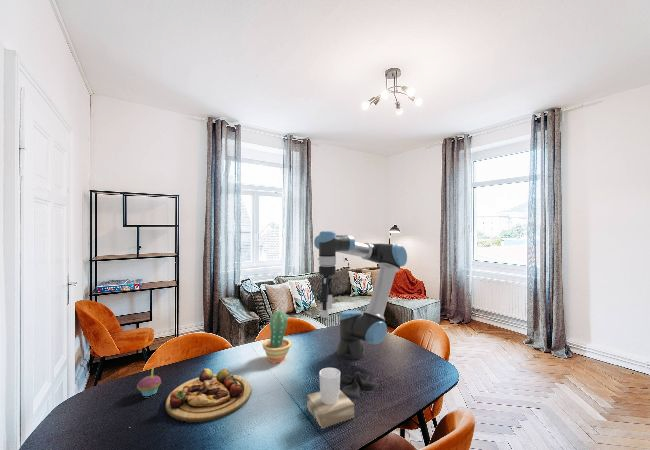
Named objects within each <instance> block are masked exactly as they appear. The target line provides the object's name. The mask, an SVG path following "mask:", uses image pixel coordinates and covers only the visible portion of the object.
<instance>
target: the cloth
mask: <svg viewBox="0 0 650 450" xmlns="http://www.w3.org/2000/svg"><path fill="white" fill-rule="evenodd" d="M370 380H371V376H370V375H369V374H367V373H361V372H360V371H355V372H354V374H353V376H352V375H350V374H343V375H342V376H340V384H341V383H342V384H345V385H346V384H347V385H346V386H344V387H343V388H342V390H341V391H342V392H343V393H344V394H345V395H346V396H347V397H349V396H350V397H351V398H354V397H355V398H354V399H360V398H362V396H361V391H362V390H363V391H364V393H365V394H366V395H371V394H374V393H375V391H373V390H375V389H377V388H378V387H379V386H380V384H379V383H378V382H374V381H370Z"/></svg>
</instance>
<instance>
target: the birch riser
mask: <svg viewBox="0 0 650 450" xmlns="http://www.w3.org/2000/svg"><path fill="white" fill-rule="evenodd" d="M307 408H308V409H307ZM306 409H307V410H308V411H309V412H311V413H312V414H311V413H310V414H311V415H313V416H314V417H313V418H314V420H315V419H316V420H315V421H316V423H317V422H318V423H317V424H318V425H319V427H320V426H321V427H320V428H321V429H322V430H323V428H324V429H326V428H325V427H327V426H330V425H333V424H335V425H337V424H336V423H338V424H340V423H339V422H341V423H343V422H342V421H344V422H346V421H345V420H347V421H349V420H348V419H350V420H352V419H351V418H353V419H354V418H355V403H354V402H353V401H352V400H351V399H350V398H349V396H346V395H345V394H344V393H343V392H342V390H341V389H340V392H339V401H338V402H337V403H336V404H333V405H327V404H324V403H323V402H322V401H321V393H320V390H319V391H316V392H311V393H309V394H307V395H306ZM333 426H334V425H333ZM330 427H331V426H330ZM327 428H328V427H327Z"/></svg>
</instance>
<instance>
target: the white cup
mask: <svg viewBox="0 0 650 450" xmlns="http://www.w3.org/2000/svg"><path fill="white" fill-rule="evenodd" d="M318 375H319V391H320V393H321V401H322V402H323V403H324V404H327V405H333V404H336V403H337V402H338V401H339V392H340V390H341V389H340V388H341V387H340V386H341V383H340V378H341V371H340V369H338V368H335V367H325V368H321V370H319V373H318Z"/></svg>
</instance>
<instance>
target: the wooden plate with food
mask: <svg viewBox="0 0 650 450" xmlns="http://www.w3.org/2000/svg"><path fill="white" fill-rule="evenodd" d="M251 395H252V388H251V385H250V382H248V380H247V379H246V378H243V377H242V376H240V375H237V374H232V373H231V372H230V371H229V369H226V368H222V369H220V370H219V371H218V372H217V373H214V374H213V371H212V370H211V369H210V368H207V367H206V368H204V369H202V370H201V372H200V373H199V375H198V377H195V378H192V379H190V380H187V381H186V382H184V383H182V384H180V385H178V386H177V387H176V388H175V389H173V390H172V391H171V392H170V393H169V394H168V396H167V398H166V400H165V410H166V413H167V414H168V415H169V417H172V419H174V418H175V420H176V421H179V420H181V421H180V422H183V421H186V422H185V423H192V422H199V423H204V422H203V421H207V422H211V421H210V420H212V421H216V420H218V418H219V419H222V418H224V416H225V417H227V416H229V414H230V415H231V413H232V414H233V413H235V412H236V410H237V411H238V410H240V409H241V408H243V406H244V405H245V404H246V403H247V402H248V401H249V399H250V396H251ZM221 417H222V418H221ZM215 419H216V420H215Z"/></svg>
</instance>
